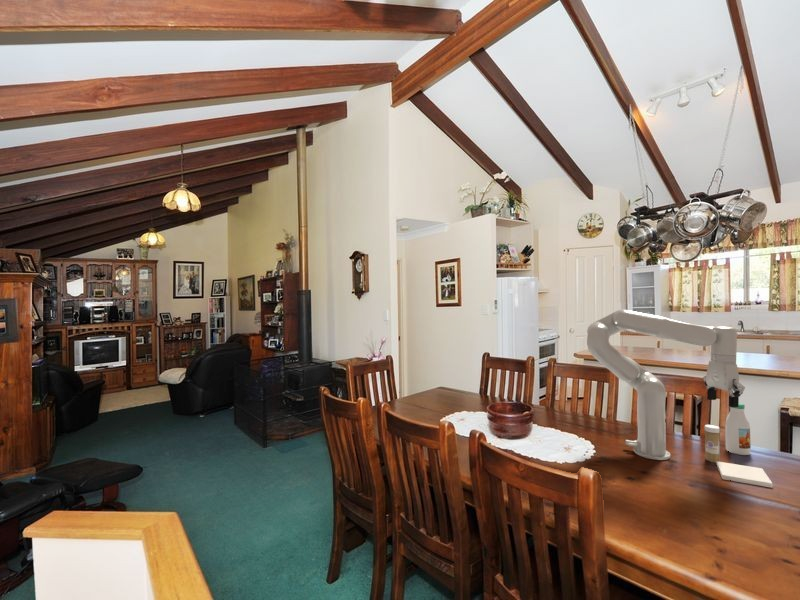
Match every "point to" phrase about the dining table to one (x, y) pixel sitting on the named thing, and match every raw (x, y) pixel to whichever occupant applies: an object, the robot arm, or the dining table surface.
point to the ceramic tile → (744, 474)
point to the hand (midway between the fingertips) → (722, 403)
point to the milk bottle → (737, 431)
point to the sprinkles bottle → (712, 443)
